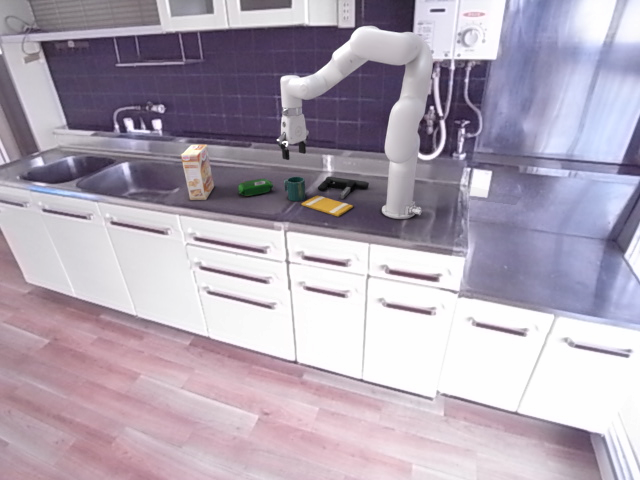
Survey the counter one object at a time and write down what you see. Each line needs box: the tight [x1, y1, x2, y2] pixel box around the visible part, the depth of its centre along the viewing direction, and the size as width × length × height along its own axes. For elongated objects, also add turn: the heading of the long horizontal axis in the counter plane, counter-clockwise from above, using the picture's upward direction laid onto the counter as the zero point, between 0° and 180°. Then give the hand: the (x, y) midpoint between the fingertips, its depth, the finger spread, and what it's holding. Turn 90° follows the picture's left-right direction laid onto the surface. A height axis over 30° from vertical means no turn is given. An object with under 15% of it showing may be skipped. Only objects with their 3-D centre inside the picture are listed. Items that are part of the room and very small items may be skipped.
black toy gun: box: [317, 176, 370, 200], centre depth 162 cm, size 3×20×16 cm
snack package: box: [237, 178, 274, 197], centre depth 161 cm, size 7×16×5 cm, turn 112°
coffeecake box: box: [180, 144, 215, 201], centre depth 159 cm, size 15×7×20 cm, turn 0°
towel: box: [301, 195, 354, 217], centre depth 149 cm, size 18×10×1 cm, turn 52°
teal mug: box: [283, 176, 306, 202], centre depth 156 cm, size 10×7×8 cm
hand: (294, 156), depth 149 cm, fingers open, 9 cm apart
